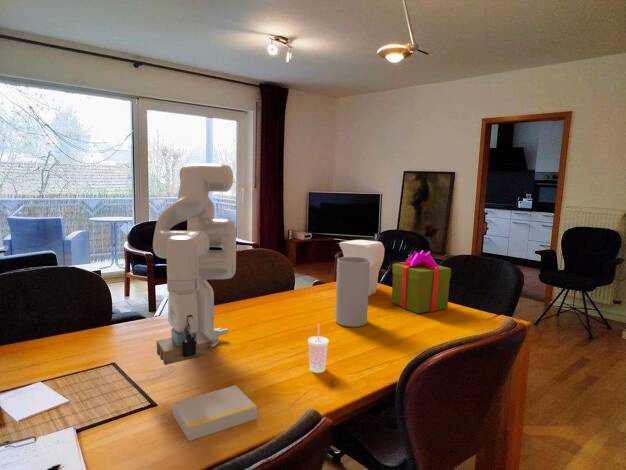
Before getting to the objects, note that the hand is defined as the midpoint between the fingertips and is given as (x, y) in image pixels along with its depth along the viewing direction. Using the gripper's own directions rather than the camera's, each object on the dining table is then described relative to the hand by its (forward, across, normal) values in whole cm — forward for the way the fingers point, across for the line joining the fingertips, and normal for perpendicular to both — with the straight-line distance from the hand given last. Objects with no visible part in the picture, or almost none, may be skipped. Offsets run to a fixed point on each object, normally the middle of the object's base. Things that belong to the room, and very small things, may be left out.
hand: (184, 349), depth 111 cm
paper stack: (+14, -48, +105) cm, 116 cm away
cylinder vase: (+12, -18, +72) cm, 75 cm away
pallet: (+1, 0, 0) cm, 1 cm away
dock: (+10, +17, +2) cm, 20 cm away
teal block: (-2, 0, 0) cm, 2 cm away
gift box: (+13, -19, +112) cm, 114 cm away
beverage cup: (+11, +9, +37) cm, 39 cm away
